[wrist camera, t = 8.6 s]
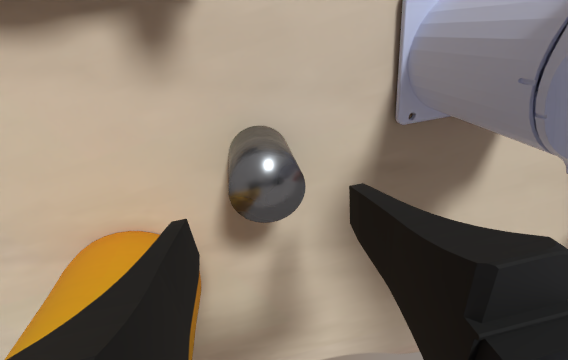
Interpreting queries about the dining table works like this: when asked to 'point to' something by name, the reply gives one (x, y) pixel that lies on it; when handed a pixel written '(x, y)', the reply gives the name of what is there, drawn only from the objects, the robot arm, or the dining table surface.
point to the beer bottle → (92, 284)
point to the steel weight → (263, 176)
